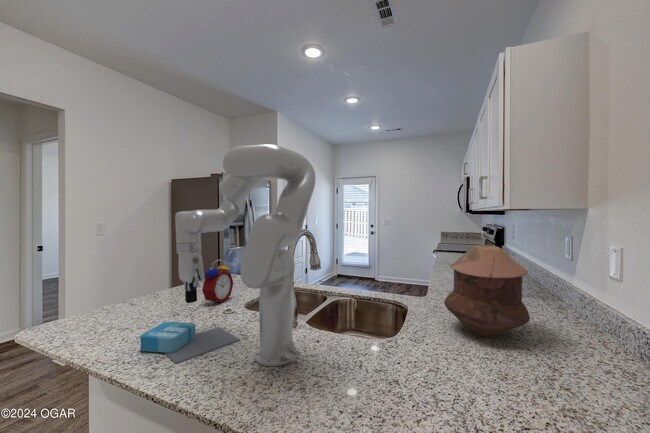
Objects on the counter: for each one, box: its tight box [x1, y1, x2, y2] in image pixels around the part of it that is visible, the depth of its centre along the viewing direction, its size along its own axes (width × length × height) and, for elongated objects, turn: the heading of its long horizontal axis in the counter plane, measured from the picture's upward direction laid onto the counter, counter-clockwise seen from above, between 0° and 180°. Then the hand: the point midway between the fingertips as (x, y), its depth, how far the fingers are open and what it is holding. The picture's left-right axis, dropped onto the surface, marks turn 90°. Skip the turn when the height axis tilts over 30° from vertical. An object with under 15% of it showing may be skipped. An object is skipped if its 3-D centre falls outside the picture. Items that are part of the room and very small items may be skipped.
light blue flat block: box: [140, 321, 196, 354], centre depth 93 cm, size 12×4×12 cm
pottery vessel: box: [443, 244, 531, 338], centre depth 100 cm, size 26×26×30 cm
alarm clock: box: [201, 259, 234, 306], centre depth 137 cm, size 15×9×20 cm, turn 162°
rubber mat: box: [163, 326, 241, 365], centre depth 94 cm, size 15×20×1 cm
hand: (191, 301), depth 98 cm, fingers closed
